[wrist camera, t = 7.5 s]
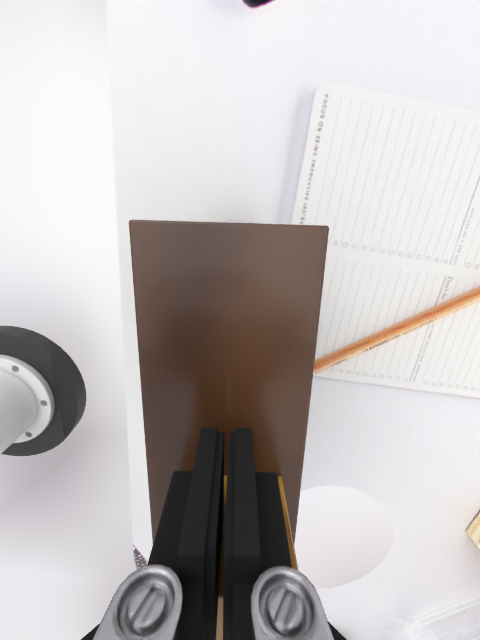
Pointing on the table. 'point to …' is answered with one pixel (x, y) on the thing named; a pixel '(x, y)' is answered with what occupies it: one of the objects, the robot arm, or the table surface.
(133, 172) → the table surface
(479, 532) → the coffeecake box
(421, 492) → the table surface
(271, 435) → the block
